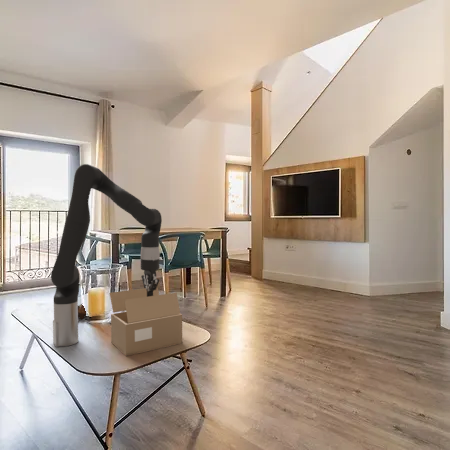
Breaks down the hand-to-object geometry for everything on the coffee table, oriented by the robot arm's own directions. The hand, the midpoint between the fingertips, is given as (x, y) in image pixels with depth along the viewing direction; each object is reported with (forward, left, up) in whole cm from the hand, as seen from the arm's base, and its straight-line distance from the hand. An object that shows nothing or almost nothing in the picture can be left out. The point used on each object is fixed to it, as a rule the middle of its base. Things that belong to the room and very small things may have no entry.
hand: (149, 299), depth 145 cm
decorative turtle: (-11, +57, -19) cm, 61 cm away
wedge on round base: (+1, +37, -19) cm, 42 cm away
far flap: (0, +15, -2) cm, 15 cm away
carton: (0, +4, -19) cm, 19 cm away
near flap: (0, -3, -2) cm, 4 cm away
